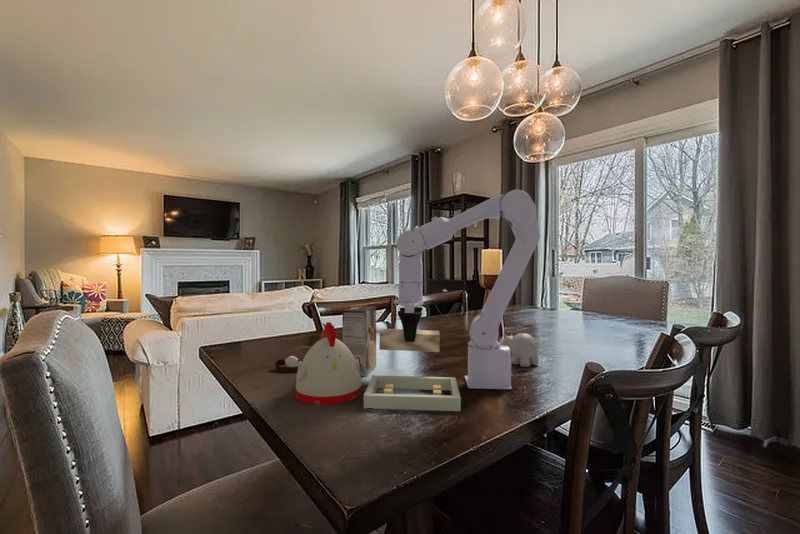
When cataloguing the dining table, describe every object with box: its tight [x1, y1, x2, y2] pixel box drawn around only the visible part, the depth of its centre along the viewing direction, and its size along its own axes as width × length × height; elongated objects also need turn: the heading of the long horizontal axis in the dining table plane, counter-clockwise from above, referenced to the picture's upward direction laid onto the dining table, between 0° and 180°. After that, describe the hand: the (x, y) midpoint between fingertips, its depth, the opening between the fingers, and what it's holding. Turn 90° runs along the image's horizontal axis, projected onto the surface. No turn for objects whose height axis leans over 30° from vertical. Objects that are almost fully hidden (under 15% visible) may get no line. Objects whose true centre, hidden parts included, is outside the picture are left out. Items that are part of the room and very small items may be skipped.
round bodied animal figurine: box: [499, 332, 540, 368], centre depth 105 cm, size 7×12×8 cm, turn 30°
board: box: [378, 328, 441, 353], centre depth 91 cm, size 14×5×4 cm, turn 86°
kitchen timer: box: [295, 321, 363, 406], centre depth 81 cm, size 14×14×15 cm
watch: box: [274, 355, 303, 373], centre depth 97 cm, size 8×5×4 cm, turn 84°
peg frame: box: [363, 374, 462, 412], centre depth 78 cm, size 18×12×2 cm
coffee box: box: [342, 305, 377, 377], centre depth 97 cm, size 9×6×16 cm
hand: (410, 339), depth 91 cm, fingers closed on board, 5 cm apart
